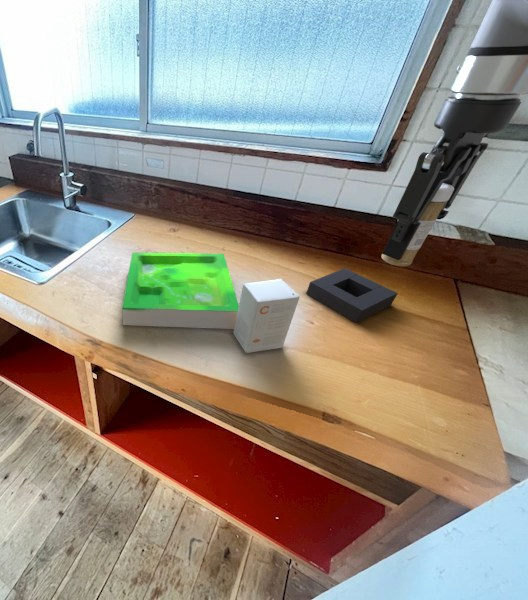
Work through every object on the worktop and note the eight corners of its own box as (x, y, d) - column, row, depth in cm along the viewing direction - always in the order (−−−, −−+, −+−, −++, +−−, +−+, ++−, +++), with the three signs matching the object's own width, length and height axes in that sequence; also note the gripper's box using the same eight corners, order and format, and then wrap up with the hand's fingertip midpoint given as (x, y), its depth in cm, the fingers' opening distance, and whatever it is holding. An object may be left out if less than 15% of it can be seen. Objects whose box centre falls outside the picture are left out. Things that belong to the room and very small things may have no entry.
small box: (267, 328, 70) (282, 277, 62) (283, 348, 65) (301, 296, 57) (232, 333, 69) (242, 282, 61) (245, 354, 64) (258, 302, 56)
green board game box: (221, 269, 90) (223, 253, 87) (236, 329, 70) (240, 311, 67) (132, 268, 92) (132, 252, 90) (123, 325, 73) (122, 307, 70)
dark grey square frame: (391, 305, 75) (398, 293, 73) (355, 323, 70) (362, 310, 68) (339, 279, 84) (344, 267, 82) (305, 293, 80) (310, 281, 77)
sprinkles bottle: (398, 253, 59) (438, 179, 51) (417, 266, 55) (464, 188, 47) (374, 255, 59) (410, 180, 51) (391, 268, 55) (433, 190, 47)
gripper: (481, 89, 48) (405, 233, 62) (414, 99, 42) (347, 256, 56) (552, 92, 42) (451, 249, 57) (487, 104, 36) (392, 276, 51)
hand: (400, 252), depth 56 cm, fingers closed on sprinkles bottle, 4 cm apart
